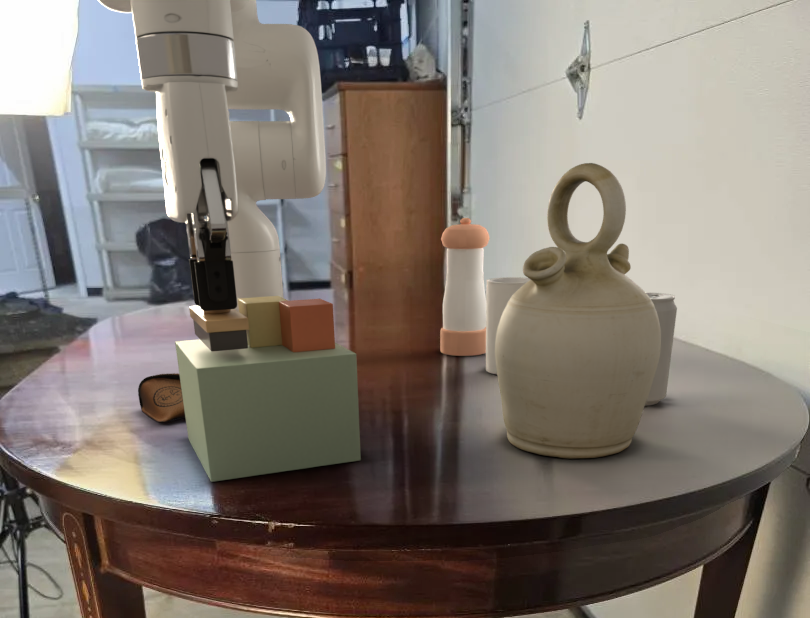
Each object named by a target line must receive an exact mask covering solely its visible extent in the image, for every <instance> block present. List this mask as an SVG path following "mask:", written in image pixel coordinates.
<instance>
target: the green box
mask: <svg viewBox="0 0 810 618" xmlns="http://www.w3.org/2000/svg"><path fill="white" fill-rule="evenodd" d="M174 343H175V344H174V345H175V353H176V360H177V366H178V374H179V375H180V382H181V389H182V396H183V403H184V411H185V418H184V419H185V425H186V431H187V432H186V433H187V438H188V441H189V443H190V445H191V447H192V448H193V451H194V452H195V454H196V456H197V458H198V460H199V462H200V464H201V465H202V467H203V470H204V471H205V473H206V475H207V477H208V479H209V480H210V482H211V483H214V482H219V481H221V482H222V481H227V480H235V479H241V478H248V477H255V476H262V475H269V474H276V473H283V472H291V471H296V470H297V471H299V470H304V469H311V468H318V467H323V466H331V465H337V464H339V465H340V464H346V463H351V462H359V461H360V462H361V460H362V458H361V454H362V453H361V436H360V433H361V431H360V411H359V409H360V408H359V388H358V387H359V386H358V364H357V363H358V362H357V353H355V352H354V351H352V350H350V349H348V348H346V347H345V346H343V345H341V344H339V343H337V342H335V349H326V350H315V351H304V352H292V351H290V350H289V349H287V348H286V347H285V346H283V345H278V346H267V347H255V348H250V347H249V346H248V348H246V349H235V350H223V351H211V350H210V349H209V348H208V347H207V346H206V345H205V344H204V343H203V342H202V341H201V340H200V339H199V338H198V339H189V340H176V341H174Z"/></svg>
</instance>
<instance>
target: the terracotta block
mask: <svg viewBox="0 0 810 618" xmlns="http://www.w3.org/2000/svg"><path fill="white" fill-rule="evenodd" d="M279 310H280V323H281V335H282V345H283V346H285V347H286V348H287V349H289V350H290V351H292V352H304V351H315V350H326V349H335V343H336V336H335V319H334V304H333V303H332V302H330V301H327V300H324V299H322V298H307V299H294V300H292V299H291V300H288V301H279Z"/></svg>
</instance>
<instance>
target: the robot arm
mask: <svg viewBox="0 0 810 618" xmlns="http://www.w3.org/2000/svg"><path fill="white" fill-rule="evenodd" d="M97 1H98V2H99V3H100V4H101V5H102V6H103V7H105V8H106V9H108V10H109V11H113V12H115V13H116V12H117V13H123V14H131V15H132V23H133V30H134V36H135V45H136V52H137V59H138V66H139V73H140V80H141V81H140V82H141V88H142V90H144V91H147V92H151V93H155V106H156V121H157V122H156V124H157V134H158V143H159V155H160V160H161V161H160V162H161V170H162V171H161V173H162V181H163V190H164V200H165V201H164V202H165V212H166V215H167V217H168V218H169V219H171V220H172V221H174V222H177V223H185V227H186V234H187V235H186V236H187V243H188V251H189V252H188V253H189V257H190V259H188V263H189V271H190V279H191V288H192V296H193V302H194V304H195V306H200V308H201V309H202V310H203V311H212V310H227V309H235V310H237V311H238V312H239V306H238V299H239V298H253V297H269V296H280V297H282V298H284V284H283V273H282V272H283V271H282V259H281V245H280V238H279V235H278V231H277V228H276V227H275V225H274V223H273V222H272V221H271V220H270V219H269V218H268V217H267V215H265V214H264V212H263V211H262V210H261V209H260V208H259V206H258V204H257V202H259V201H267V200H300V199H302V200H303V199H311V198H316V197H317V196H319V195H320V194H321V193H322V192H323V190H324V188H325V185H326V179H327V177H326V176H327V160H326V159H327V158H326V143H325V141H326V139H325V125H324V124H325V123H324V111H323V93H322V79H321V69H320V68H321V66H320V59H319V54H318V49H317V46H316V42H315V39H314V38H313V36H312V34H311V33H310V32H309V31H308V30H307V29H306V28H305V27H302V26H301V25H298V24H292V23H262V22H260V20H259V17H258V6H257V0H97ZM229 110H281V111H283V112H285V113H287V115H288V117H289V118H290V120H230V114H231V113H230V111H229ZM205 217H206V218H205ZM195 245H196V248H195ZM196 253H197V256H196ZM197 259H198V262H197ZM284 299H285V298H284Z"/></svg>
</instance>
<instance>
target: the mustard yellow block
mask: <svg viewBox="0 0 810 618" xmlns="http://www.w3.org/2000/svg"><path fill="white" fill-rule="evenodd" d="M279 301H289V299H286V298H282V297H280V296H269V297H253V298H239V299H238V306H239V312H240V313H241V314H243V315H244V316H246V317H247V318H248V323H249V330H246V331H247V341H248V346H249V347H250V348H255V347H267V346H278V345H282V335H281V323H280V310H279Z"/></svg>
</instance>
